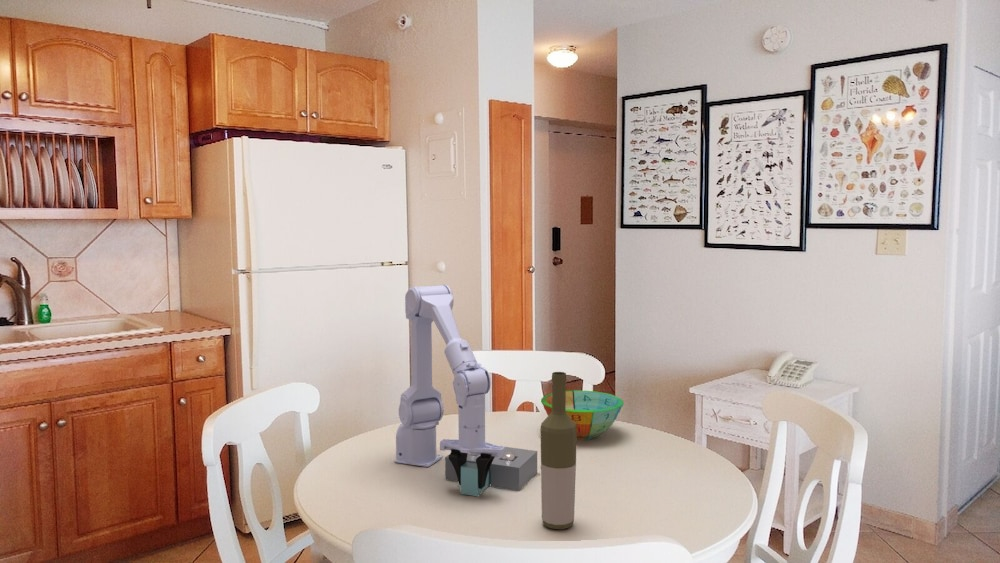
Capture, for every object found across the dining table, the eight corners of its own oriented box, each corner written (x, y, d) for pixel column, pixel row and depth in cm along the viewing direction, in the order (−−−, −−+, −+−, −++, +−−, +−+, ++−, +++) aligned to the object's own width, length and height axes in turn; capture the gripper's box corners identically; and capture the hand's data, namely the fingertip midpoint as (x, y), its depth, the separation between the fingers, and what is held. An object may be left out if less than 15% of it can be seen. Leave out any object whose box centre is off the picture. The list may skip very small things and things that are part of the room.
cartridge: (460, 493, 154) (460, 466, 153) (488, 470, 168) (488, 445, 167) (477, 496, 152) (477, 469, 152) (503, 472, 166) (503, 447, 166)
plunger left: (464, 461, 164) (464, 450, 164) (469, 457, 167) (469, 446, 167) (475, 462, 163) (475, 451, 163) (480, 459, 166) (480, 448, 166)
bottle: (542, 515, 143) (543, 368, 140) (577, 518, 142) (579, 370, 139) (537, 530, 136) (538, 376, 133) (573, 534, 135) (575, 378, 132)
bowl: (629, 449, 183) (630, 411, 183) (542, 449, 184) (542, 411, 183) (616, 424, 206) (617, 390, 205) (539, 423, 206) (539, 389, 205)
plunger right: (500, 466, 161) (500, 455, 161) (505, 462, 164) (505, 451, 163) (511, 468, 160) (511, 456, 160) (516, 464, 163) (516, 453, 162)
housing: (445, 479, 163) (445, 457, 162) (467, 462, 174) (467, 441, 173) (519, 490, 156) (519, 467, 155) (537, 472, 167) (537, 451, 166)
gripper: (433, 425, 152) (433, 487, 154) (495, 433, 147) (495, 497, 148) (447, 416, 159) (448, 476, 160) (508, 424, 153) (508, 485, 155)
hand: (472, 485), depth 154 cm, fingers closed on cartridge, 4 cm apart
